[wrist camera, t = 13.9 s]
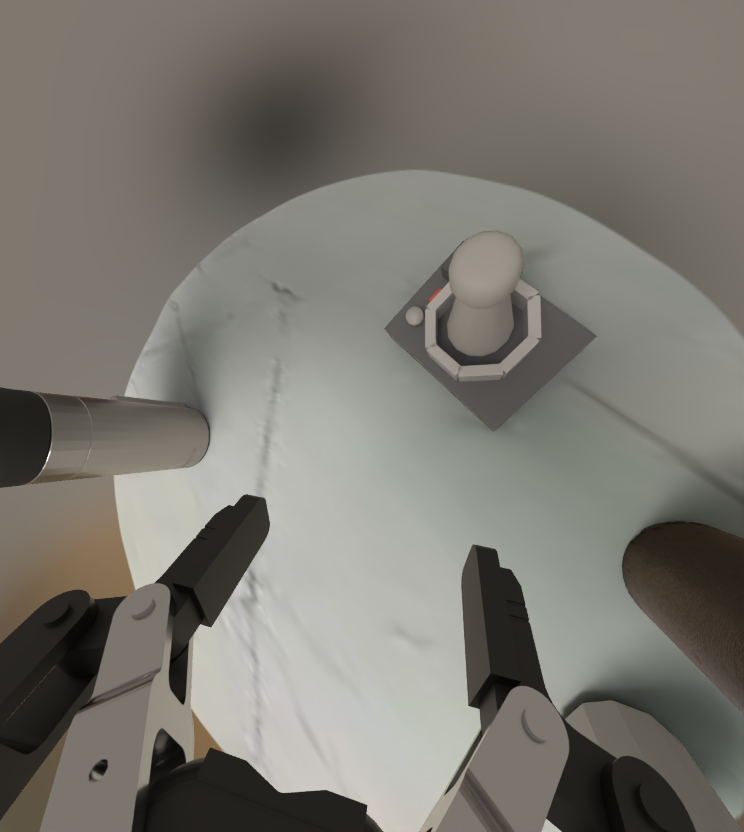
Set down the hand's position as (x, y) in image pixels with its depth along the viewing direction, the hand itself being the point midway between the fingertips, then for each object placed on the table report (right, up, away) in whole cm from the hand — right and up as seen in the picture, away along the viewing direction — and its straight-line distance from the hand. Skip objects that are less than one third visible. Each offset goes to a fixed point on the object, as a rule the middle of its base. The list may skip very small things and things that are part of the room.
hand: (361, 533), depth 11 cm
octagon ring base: (+12, +13, +21) cm, 27 cm away
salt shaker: (+11, +13, +18) cm, 25 cm away
